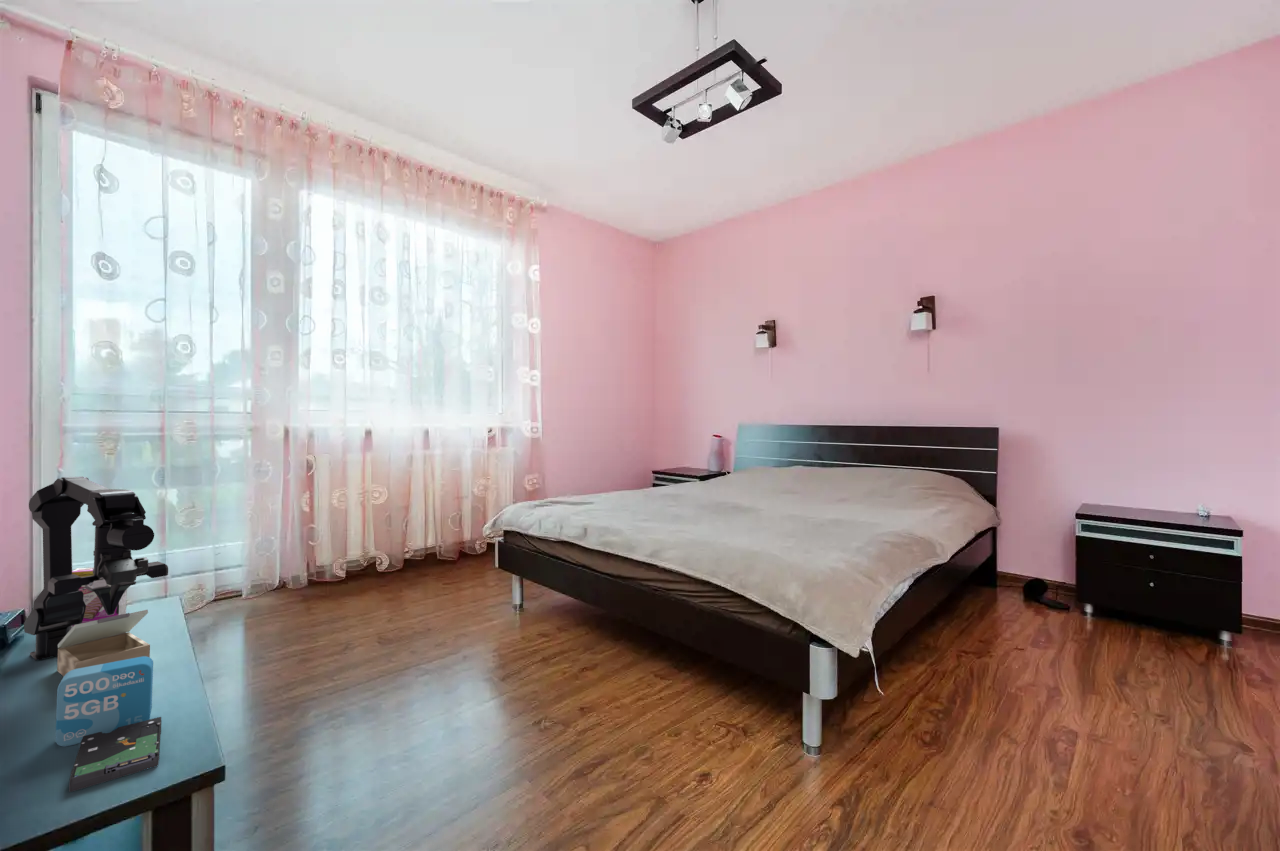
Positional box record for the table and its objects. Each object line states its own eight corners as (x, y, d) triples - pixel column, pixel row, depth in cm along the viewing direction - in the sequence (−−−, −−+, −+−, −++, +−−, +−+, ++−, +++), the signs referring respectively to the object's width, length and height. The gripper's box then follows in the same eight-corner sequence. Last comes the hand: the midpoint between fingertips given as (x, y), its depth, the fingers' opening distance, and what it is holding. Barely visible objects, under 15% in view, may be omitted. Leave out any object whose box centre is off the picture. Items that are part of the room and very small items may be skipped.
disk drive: (80, 752, 91) (68, 796, 80) (81, 736, 91) (69, 777, 80) (161, 730, 98) (160, 768, 87) (161, 715, 98) (160, 751, 87)
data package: (54, 750, 91) (57, 680, 91) (60, 738, 94) (62, 670, 94) (149, 726, 98) (151, 661, 98) (151, 716, 102) (153, 653, 102)
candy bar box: (63, 633, 141) (65, 572, 141) (73, 627, 145) (75, 567, 146) (118, 627, 146) (120, 568, 146) (126, 621, 150) (128, 564, 150)
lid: (56, 649, 120) (56, 645, 120) (127, 633, 130) (127, 629, 130) (76, 626, 113) (76, 622, 113) (149, 611, 123) (149, 607, 123)
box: (57, 670, 119) (57, 648, 119) (128, 652, 130) (128, 632, 130) (75, 687, 112) (76, 663, 112) (149, 666, 123) (150, 644, 123)
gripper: (63, 558, 108) (60, 635, 107) (178, 543, 124) (176, 609, 123) (48, 551, 113) (45, 624, 113) (160, 537, 129) (158, 601, 129)
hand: (110, 614), depth 120 cm, fingers closed
